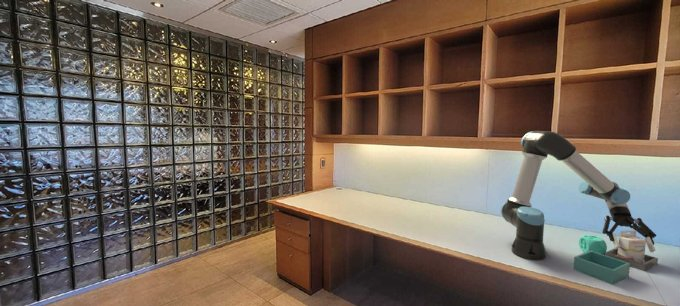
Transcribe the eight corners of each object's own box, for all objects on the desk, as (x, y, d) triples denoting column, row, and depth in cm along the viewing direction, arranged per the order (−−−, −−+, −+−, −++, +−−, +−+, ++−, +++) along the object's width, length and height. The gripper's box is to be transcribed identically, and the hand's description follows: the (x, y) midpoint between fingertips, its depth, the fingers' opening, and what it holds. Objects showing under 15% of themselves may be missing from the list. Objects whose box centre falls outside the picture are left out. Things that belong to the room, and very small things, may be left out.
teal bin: (573, 269, 128) (574, 256, 128) (589, 262, 134) (590, 250, 134) (613, 284, 116) (614, 270, 115) (628, 276, 122) (629, 263, 121)
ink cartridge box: (627, 263, 132) (629, 234, 131) (616, 258, 137) (619, 230, 136) (644, 263, 133) (647, 233, 131) (633, 258, 137) (635, 229, 136)
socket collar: (604, 258, 138) (605, 252, 138) (618, 252, 144) (618, 246, 144) (644, 271, 126) (644, 264, 125) (657, 264, 131) (658, 258, 131)
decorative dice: (606, 256, 140) (607, 241, 139) (588, 255, 141) (589, 240, 141) (595, 249, 148) (596, 235, 147) (578, 248, 149) (579, 234, 148)
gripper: (645, 214, 143) (664, 255, 130) (586, 210, 152) (599, 248, 139) (653, 207, 138) (674, 249, 125) (592, 203, 146) (605, 242, 133)
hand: (634, 249), depth 132 cm, fingers open, 12 cm apart
